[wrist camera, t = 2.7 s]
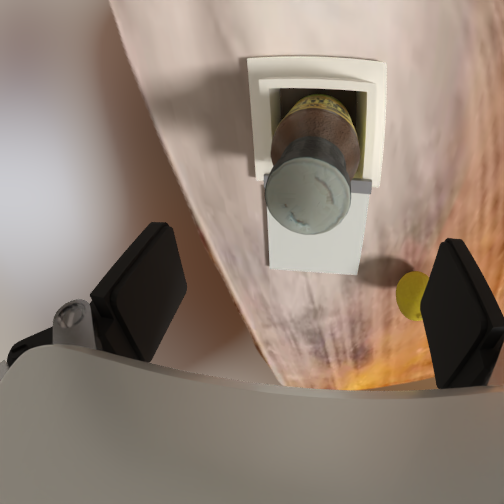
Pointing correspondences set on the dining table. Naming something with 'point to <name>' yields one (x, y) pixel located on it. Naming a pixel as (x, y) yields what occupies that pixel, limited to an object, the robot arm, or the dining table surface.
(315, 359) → the dining table surface
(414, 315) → the lemon
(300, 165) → the sauce bottle
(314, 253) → the mat
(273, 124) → the caddy
